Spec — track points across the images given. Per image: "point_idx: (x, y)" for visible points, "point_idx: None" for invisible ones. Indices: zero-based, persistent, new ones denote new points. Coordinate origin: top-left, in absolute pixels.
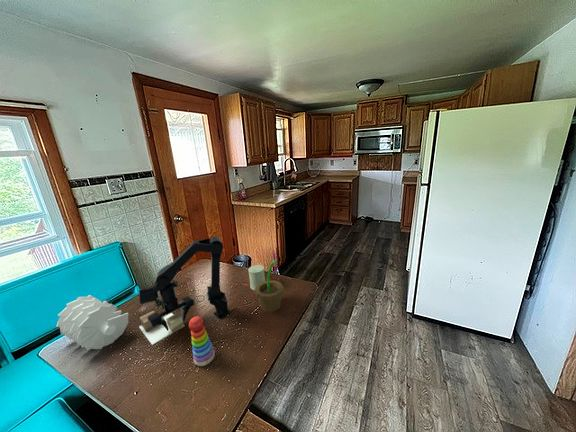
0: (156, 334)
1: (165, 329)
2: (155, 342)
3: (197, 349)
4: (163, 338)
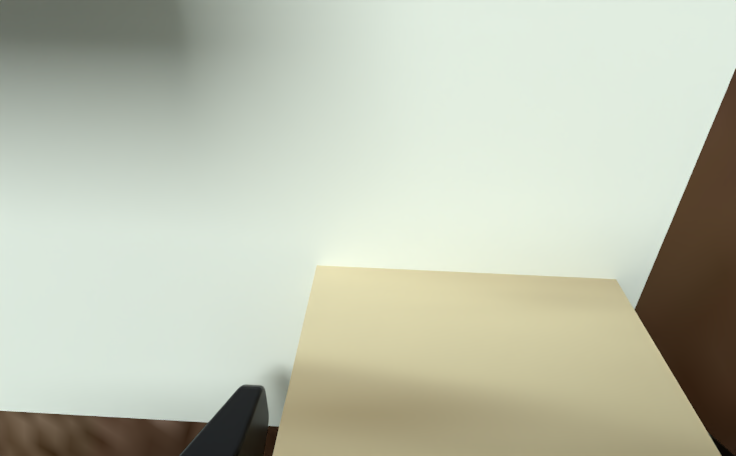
0: (21, 240)
1: (243, 258)
2: (9, 409)
3: None
4: (155, 408)
